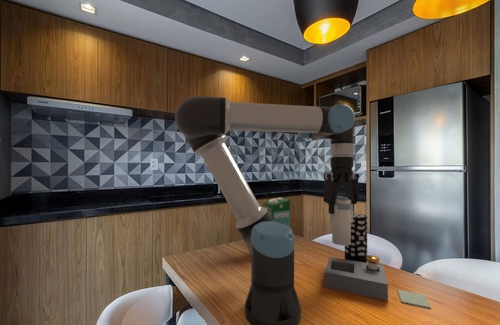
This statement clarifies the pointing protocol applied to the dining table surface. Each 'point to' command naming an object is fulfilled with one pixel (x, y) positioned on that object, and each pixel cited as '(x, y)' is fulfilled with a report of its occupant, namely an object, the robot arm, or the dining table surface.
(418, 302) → the mat
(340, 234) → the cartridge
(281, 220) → the milk carton
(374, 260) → the gold lidded jar
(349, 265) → the block
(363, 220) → the white-spotted black cylinder
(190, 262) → the dining table surface
